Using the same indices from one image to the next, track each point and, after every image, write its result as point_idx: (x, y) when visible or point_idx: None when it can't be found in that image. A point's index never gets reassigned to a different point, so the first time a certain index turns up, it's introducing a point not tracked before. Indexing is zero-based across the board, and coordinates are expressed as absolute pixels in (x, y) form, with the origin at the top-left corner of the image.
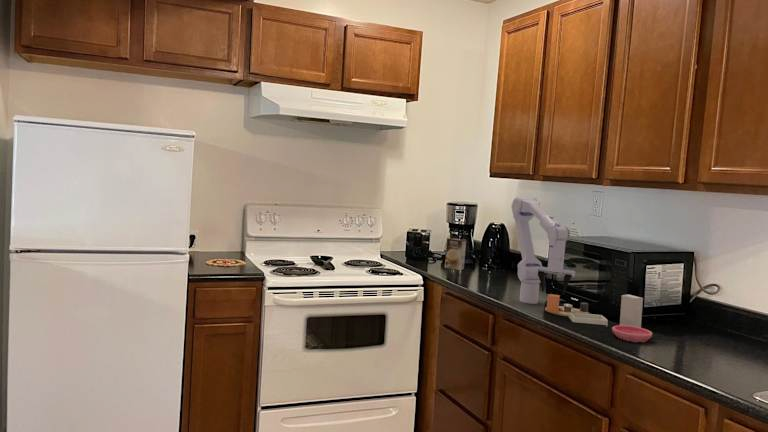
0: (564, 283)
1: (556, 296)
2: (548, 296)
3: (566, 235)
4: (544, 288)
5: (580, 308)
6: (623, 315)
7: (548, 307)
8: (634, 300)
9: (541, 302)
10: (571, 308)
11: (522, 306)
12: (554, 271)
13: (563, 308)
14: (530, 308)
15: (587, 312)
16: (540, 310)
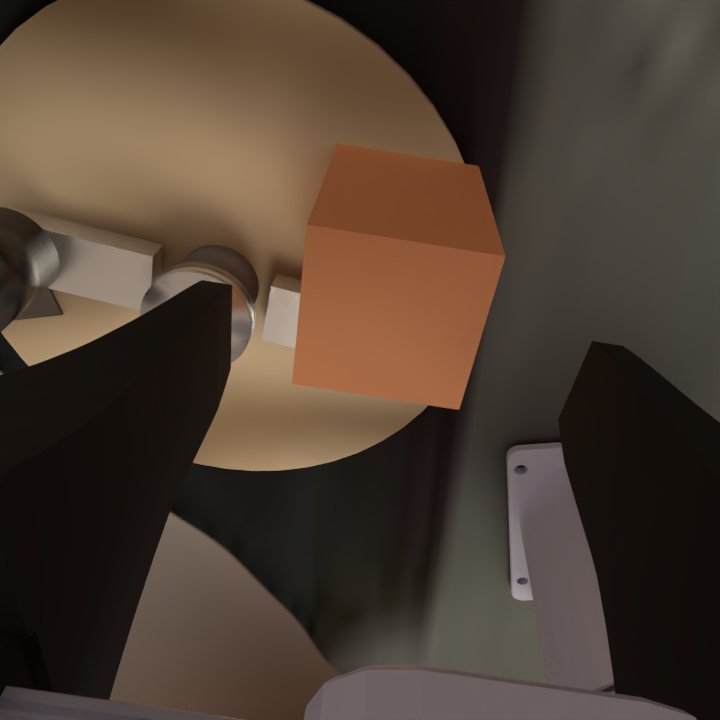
0: (107, 380)
1: (344, 266)
2: (489, 248)
3: None
4: (564, 454)
5: (33, 250)
6: None
7: (458, 179)
8: None
9: (467, 577)
10: None
11: (717, 366)
12: (500, 709)
13: (270, 397)
14: (639, 314)
15: (20, 340)
16: (529, 271)
